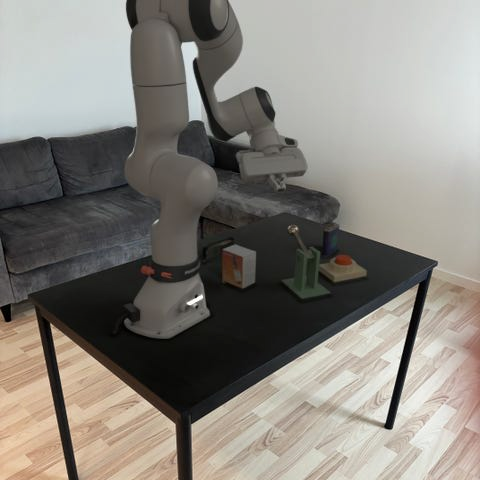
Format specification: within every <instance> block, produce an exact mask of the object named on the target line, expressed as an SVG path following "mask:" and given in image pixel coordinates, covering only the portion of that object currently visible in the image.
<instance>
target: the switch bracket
mask: <svg viewBox="0 0 480 480" xmlns="http://www.w3.org/2000/svg"><path fill="white" fill-rule="evenodd" d="M308 250H311V252H312V253H313V255H314V257H315V258H314V260H313V262H312V263H309V264H307V254H306V253H305V252H303V251H302V250H301V249H300V248H296V250H295V260H294V261H295V262H294V263H295V264H294V275H293V277H290V278H286V279H285V278H284V279H281V280H280V281H281V282H282V283H283V284H284V285H285V286H287V287H288V288H289V290H291V291H292V292H293V293H294V294H295V295H297V296H298V297H299V299H301V300H302V299H308V298H313V297H314V298H315V297H318V296H324V295H328V294H329V295H330V294H331V291H329V290H328V289H327V288H326V287H325V286H323V285H322V284H320V283H319V282H318V281H319V272H320V271H319V265H320V261H321V251H319V250H318V249H316V248H315V247H314V246H309V247H308Z"/></svg>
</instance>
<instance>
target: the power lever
mask: <svg viewBox="0 0 480 480" xmlns="http://www.w3.org/2000/svg"><path fill="white" fill-rule="evenodd" d="M299 233H300V230H299V227H298V226H297V225H295V224H291V225H289V226H288V227H287V234H288V236H290V237H293V238H294V240H295V242H296V244H297V245H298V248H299V249H301V250H302V251H303V252H305V253H306V254H307V265H308V264H309V263H312V262H313V260H314V258H315V257H314V255H313V253H312V252H311V250H309V249H308V248H307V247H306V246H305V244H304V242H303V240H302V239H301V237H300V235H299Z"/></svg>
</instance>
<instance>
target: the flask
mask: <svg viewBox="0 0 480 480" xmlns="http://www.w3.org/2000/svg"><path fill="white" fill-rule="evenodd" d="M339 232H340V224H339V223H337V222H335V221H330V225H329V227H326V228H324V229H323V234H322V246H321V247H322V248H321V254H322V255H323V256H328V255H331V254H332V255H334V254H335V253H336V252H337V251H338V243H339V242H338V241H339Z"/></svg>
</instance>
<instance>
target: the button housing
mask: <svg viewBox="0 0 480 480" xmlns="http://www.w3.org/2000/svg"><path fill="white" fill-rule="evenodd" d="M329 260H330V261H329V262H327V263H319V272H320V273H321V274H323V275H324V276H325V277H327V278H328V279H329V280H330V281H332V282H333V283H337V282H341V281H347V280H353V279H357V278H362V277H363V278H364V277H367V273H368V270H366V269H365V268H364V267H363V266H361V265H359V264H357V262H356V260H354V259H353V258H351V264H350V265H346V266H345V265H338V264H336V263H335V262H336V257H333V258H331V259H329Z"/></svg>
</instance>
